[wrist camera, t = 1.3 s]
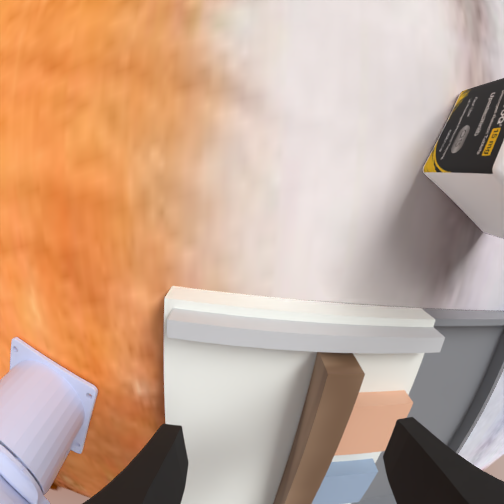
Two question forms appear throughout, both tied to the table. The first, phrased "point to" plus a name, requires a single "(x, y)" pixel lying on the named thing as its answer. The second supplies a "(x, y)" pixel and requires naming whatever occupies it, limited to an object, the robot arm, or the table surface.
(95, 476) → the table surface
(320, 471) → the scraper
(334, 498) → the tile
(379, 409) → the tile
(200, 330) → the white rimmed panel
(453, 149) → the medicine bottle
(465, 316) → the box
